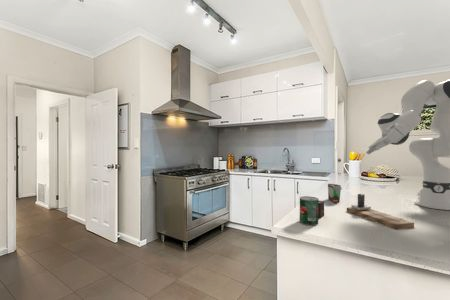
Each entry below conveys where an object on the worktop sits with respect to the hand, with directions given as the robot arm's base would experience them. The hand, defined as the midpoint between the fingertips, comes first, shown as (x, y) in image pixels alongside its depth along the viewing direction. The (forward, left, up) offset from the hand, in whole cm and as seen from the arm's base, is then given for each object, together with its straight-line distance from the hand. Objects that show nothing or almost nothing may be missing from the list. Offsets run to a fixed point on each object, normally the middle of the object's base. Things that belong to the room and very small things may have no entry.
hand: (371, 151), depth 114 cm
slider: (+5, -4, -29) cm, 30 cm away
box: (+23, -21, -32) cm, 45 cm away
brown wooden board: (+10, +3, -32) cm, 33 cm away
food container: (-15, -19, -32) cm, 40 cm away
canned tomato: (+35, -21, -32) cm, 52 cm away
